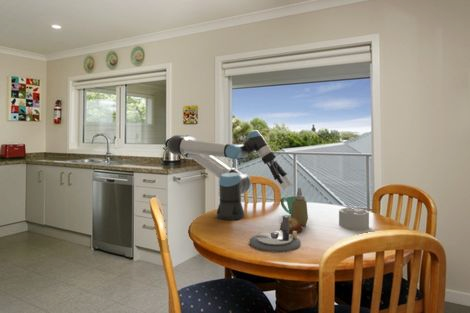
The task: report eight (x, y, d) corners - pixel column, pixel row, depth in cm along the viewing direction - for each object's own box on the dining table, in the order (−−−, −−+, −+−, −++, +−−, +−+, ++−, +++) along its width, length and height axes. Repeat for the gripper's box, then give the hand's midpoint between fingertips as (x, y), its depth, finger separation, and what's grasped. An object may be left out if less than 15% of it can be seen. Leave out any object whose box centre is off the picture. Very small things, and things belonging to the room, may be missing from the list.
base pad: (242, 248, 116) (242, 237, 116) (257, 233, 135) (257, 224, 134) (295, 254, 109) (295, 243, 109) (303, 238, 127) (303, 228, 127)
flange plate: (252, 243, 118) (252, 217, 117) (263, 231, 132) (263, 208, 132) (288, 247, 113) (288, 219, 112) (296, 235, 127) (296, 210, 127)
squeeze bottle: (308, 223, 150) (308, 187, 150) (307, 227, 143) (307, 189, 142) (292, 222, 153) (292, 186, 152) (289, 226, 145) (289, 188, 145)
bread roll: (281, 235, 143) (274, 220, 142) (300, 226, 144) (293, 210, 143) (286, 242, 133) (279, 226, 133) (307, 232, 134) (299, 215, 133)
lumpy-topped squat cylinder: (361, 231, 136) (361, 212, 136) (334, 226, 146) (334, 207, 145) (371, 226, 144) (371, 208, 143) (344, 221, 153) (344, 204, 153)
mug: (308, 216, 165) (308, 197, 165) (298, 219, 158) (298, 200, 158) (286, 212, 176) (286, 194, 175) (275, 215, 169) (275, 197, 169)
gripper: (266, 151, 158) (289, 185, 154) (277, 151, 181) (297, 181, 177) (254, 159, 160) (277, 193, 156) (267, 158, 184) (286, 188, 180)
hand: (288, 187), depth 167 cm, fingers open, 13 cm apart
